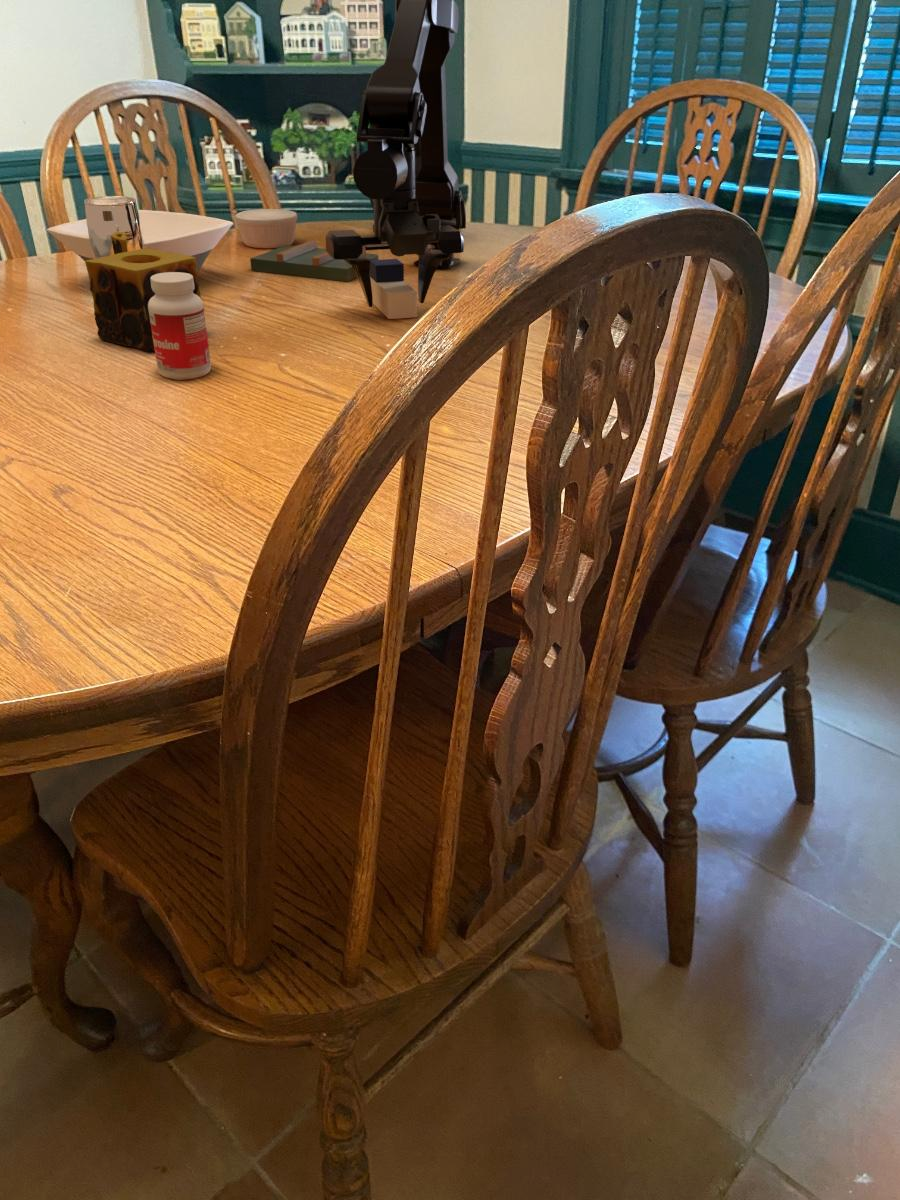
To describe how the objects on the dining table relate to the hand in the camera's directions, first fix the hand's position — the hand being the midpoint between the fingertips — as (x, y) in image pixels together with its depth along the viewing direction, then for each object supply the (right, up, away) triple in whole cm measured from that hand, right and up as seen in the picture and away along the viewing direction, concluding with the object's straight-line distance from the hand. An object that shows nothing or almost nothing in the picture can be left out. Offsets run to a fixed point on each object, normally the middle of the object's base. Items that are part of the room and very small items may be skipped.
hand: (395, 304), depth 131 cm
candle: (-31, -8, -12) cm, 35 cm away
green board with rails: (-15, +13, +23) cm, 30 cm away
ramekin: (-26, +24, +39) cm, 53 cm away
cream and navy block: (0, 0, +2) cm, 2 cm away
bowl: (-40, +8, +13) cm, 43 cm away
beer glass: (-38, -2, -3) cm, 38 cm away
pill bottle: (-24, -16, -23) cm, 37 cm away
